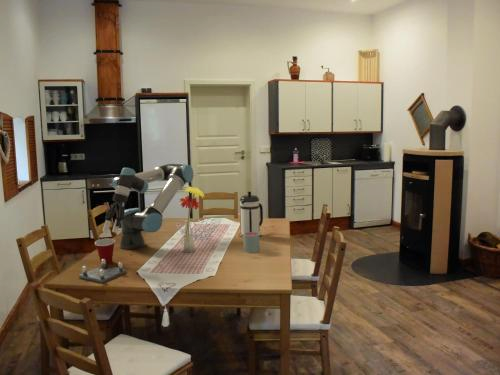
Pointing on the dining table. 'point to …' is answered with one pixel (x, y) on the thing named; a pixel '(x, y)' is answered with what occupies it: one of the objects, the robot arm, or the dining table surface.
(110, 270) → the chassis
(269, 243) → the dining table surface
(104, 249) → the plastic cup
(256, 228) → the coffee press
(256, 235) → the mug
